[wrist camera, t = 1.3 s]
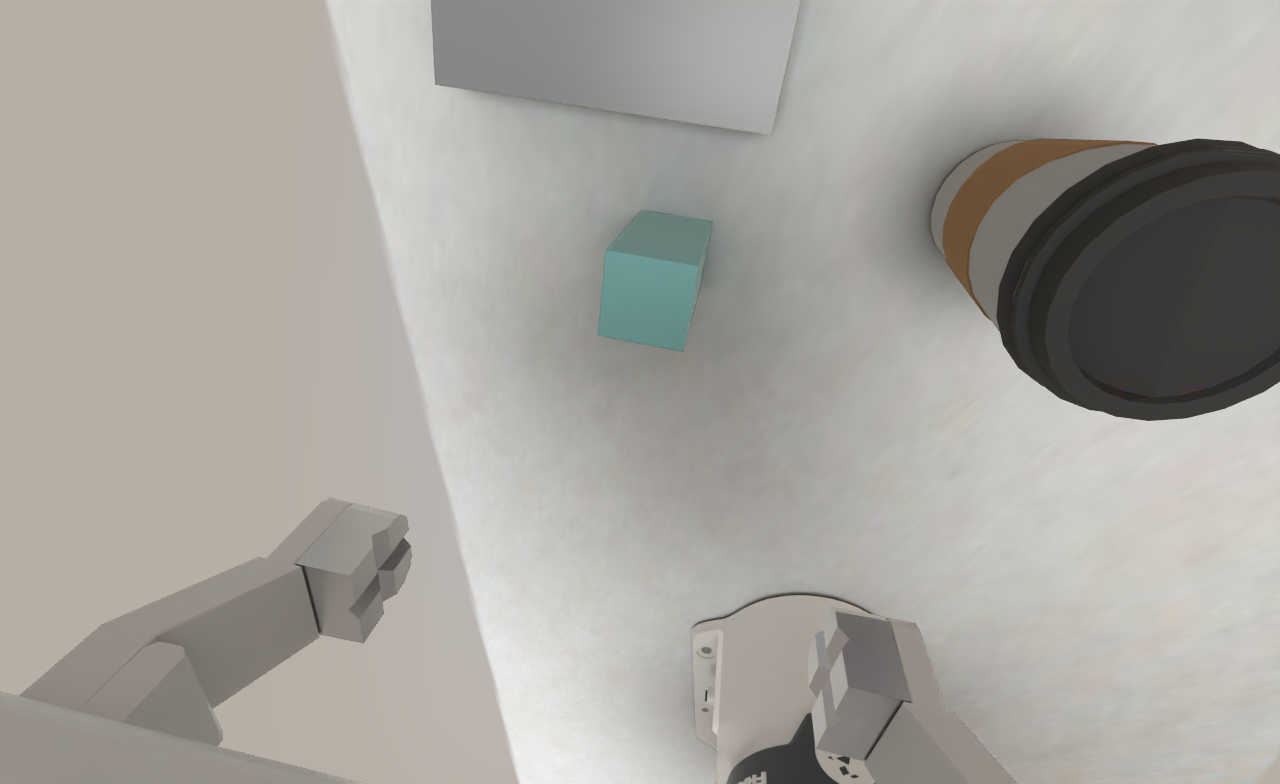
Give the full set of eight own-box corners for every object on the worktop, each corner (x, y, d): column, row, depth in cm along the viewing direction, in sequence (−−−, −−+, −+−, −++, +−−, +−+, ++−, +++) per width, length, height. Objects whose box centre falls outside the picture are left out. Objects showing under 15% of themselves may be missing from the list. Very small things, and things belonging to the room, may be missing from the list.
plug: (699, 289, 33) (683, 351, 26) (633, 278, 34) (597, 335, 26) (712, 221, 32) (698, 266, 24) (642, 209, 32) (605, 250, 24)
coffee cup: (896, 288, 31) (995, 431, 18) (920, 122, 28) (1068, 156, 15) (1065, 285, 30) (1303, 440, 17) (1115, 109, 26) (1476, 135, 13)
